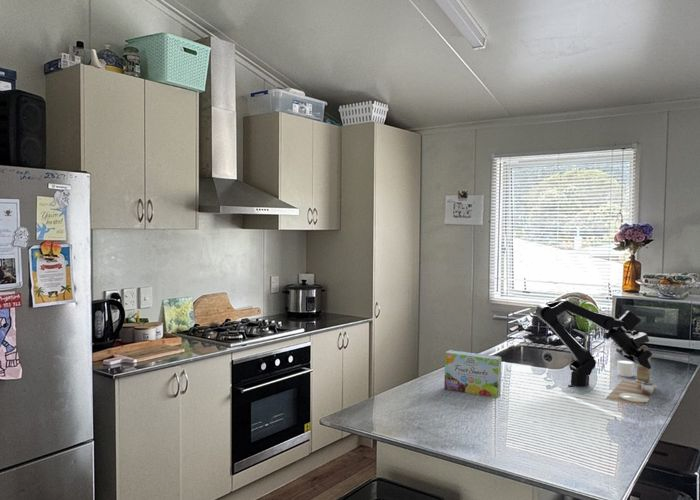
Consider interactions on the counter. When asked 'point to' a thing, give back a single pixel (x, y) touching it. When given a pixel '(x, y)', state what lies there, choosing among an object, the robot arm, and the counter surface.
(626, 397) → the white saucer
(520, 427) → the counter surface
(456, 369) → the snack box
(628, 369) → the white cup
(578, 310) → the robot arm
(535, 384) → the counter surface
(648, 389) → the spice tin
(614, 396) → the serving board
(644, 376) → the pepper mill
